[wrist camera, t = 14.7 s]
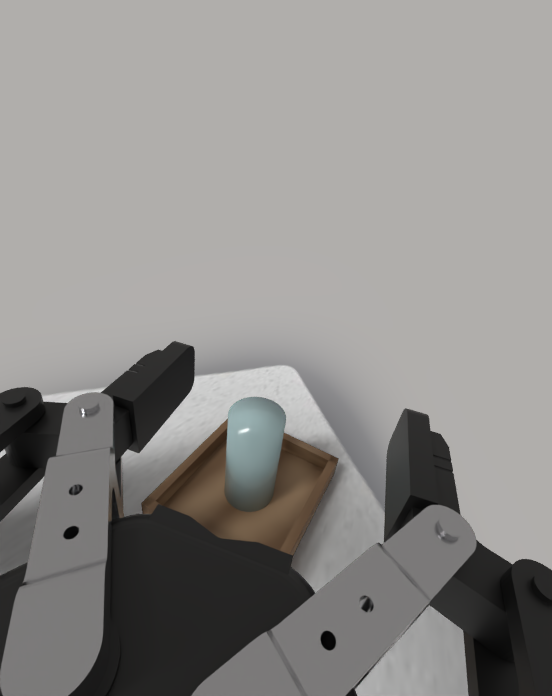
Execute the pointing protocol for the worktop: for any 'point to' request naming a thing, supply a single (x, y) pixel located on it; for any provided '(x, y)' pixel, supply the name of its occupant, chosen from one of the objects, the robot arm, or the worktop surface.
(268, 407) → the pale blue cylinder
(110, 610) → the robot arm
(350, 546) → the worktop surface
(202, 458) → the tray
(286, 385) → the worktop surface
